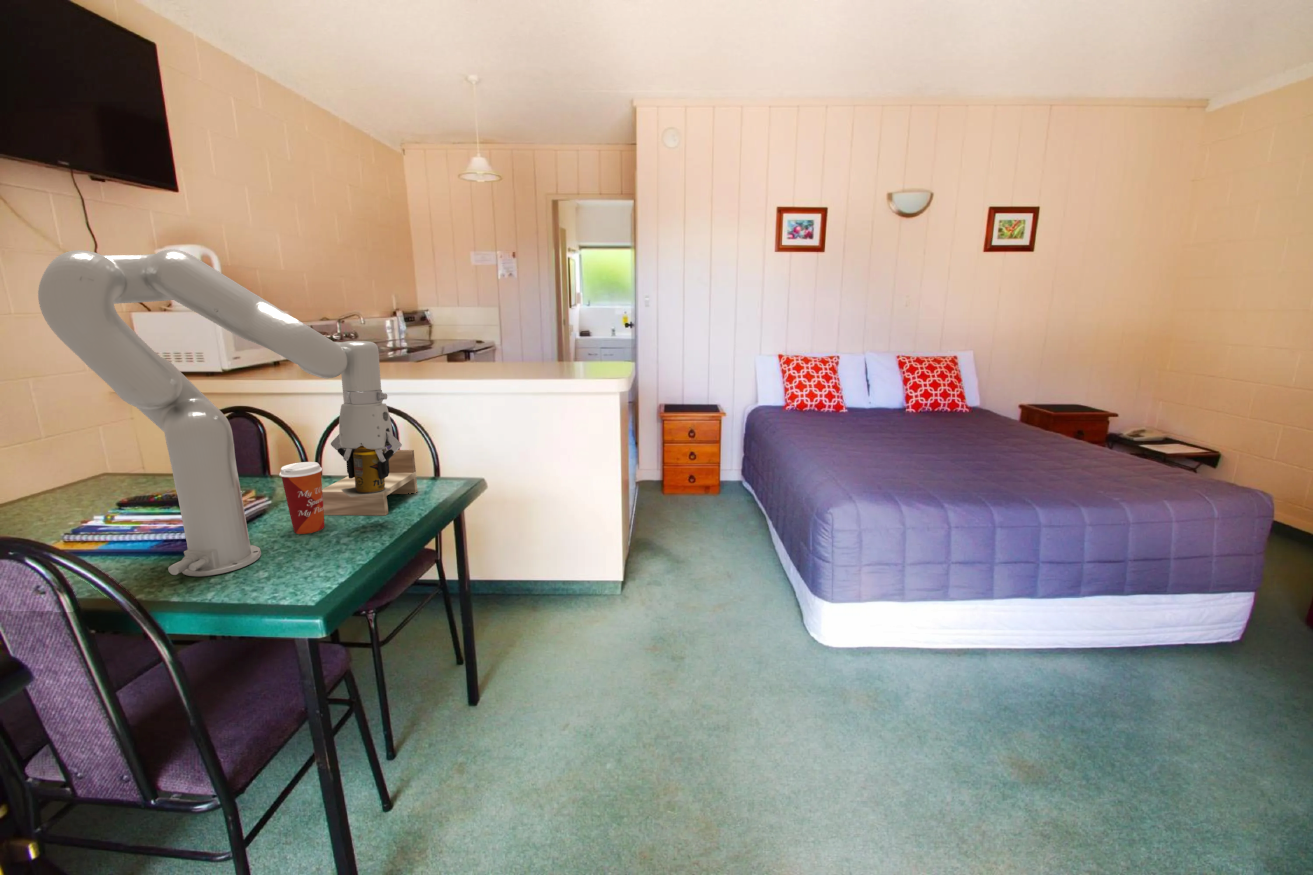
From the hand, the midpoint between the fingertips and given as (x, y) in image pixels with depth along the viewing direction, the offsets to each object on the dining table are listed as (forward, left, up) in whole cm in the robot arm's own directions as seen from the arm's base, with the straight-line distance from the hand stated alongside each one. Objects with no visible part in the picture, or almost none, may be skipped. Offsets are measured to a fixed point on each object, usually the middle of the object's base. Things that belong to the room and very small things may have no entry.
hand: (368, 476), depth 127 cm
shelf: (+17, +9, -12) cm, 23 cm away
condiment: (0, +1, -4) cm, 4 cm away
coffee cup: (-1, +14, -12) cm, 19 cm away
